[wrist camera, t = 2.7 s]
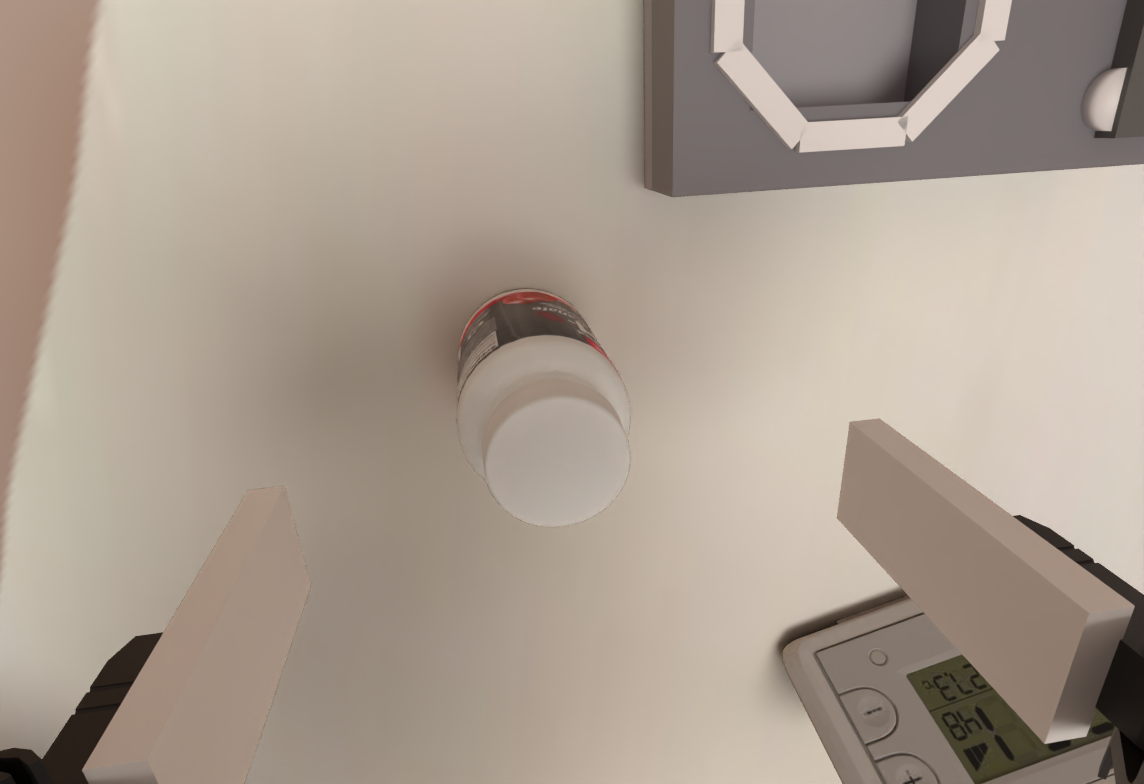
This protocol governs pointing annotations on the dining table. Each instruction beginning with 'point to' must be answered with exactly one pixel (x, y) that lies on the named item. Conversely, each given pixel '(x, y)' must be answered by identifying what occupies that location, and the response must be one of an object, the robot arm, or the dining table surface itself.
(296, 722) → the dining table surface
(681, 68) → the octagonal hole plate
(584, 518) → the pill bottle
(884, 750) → the digital clock
